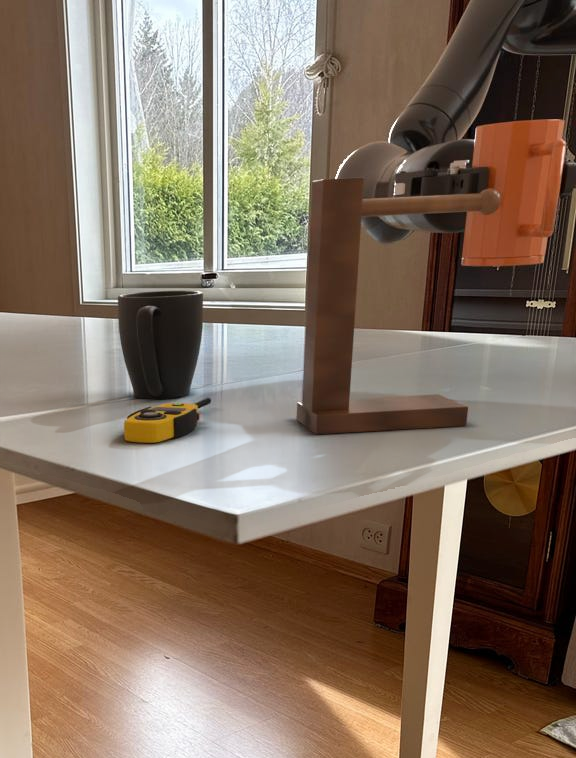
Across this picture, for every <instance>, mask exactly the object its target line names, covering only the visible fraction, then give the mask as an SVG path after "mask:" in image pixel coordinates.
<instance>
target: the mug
mask: <svg viewBox="0 0 576 758" xmlns="http://www.w3.org/2000/svg"><path fill="white" fill-rule="evenodd" d="M117 313H118V314H117V315H118V316H117V317H118V333H119V339H120V346H121V352H122V357H123V360H124V365H125V368H126V371H127V374H128V378H129V380H130V384H131V387H132V392H133V395H134V397H136V398H140V399H147V400H148V399H149V400H167V399H176V398H182V397H186V396H188V395H190V392H191V387H192V383H193V379H194V375H195V372H196V368H197V365H198V360H199V355H200V350H201V344H202V339H203V328H204V293H203V292H202V291H198V290H157V291H142V292H140V291H139V292H131V293H130V292H129V293H124V294H120V295H118V296H117Z"/></svg>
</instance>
